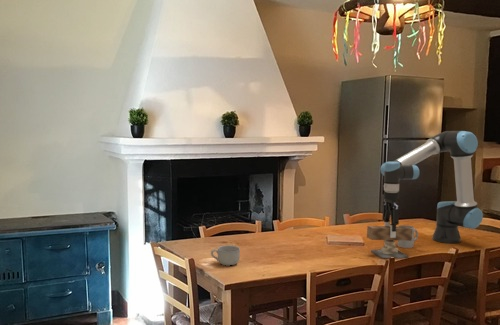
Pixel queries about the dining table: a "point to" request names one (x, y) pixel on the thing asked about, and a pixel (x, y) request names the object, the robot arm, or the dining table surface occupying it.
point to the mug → (408, 243)
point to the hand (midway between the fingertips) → (389, 235)
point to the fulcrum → (389, 251)
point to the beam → (384, 233)
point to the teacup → (227, 254)
